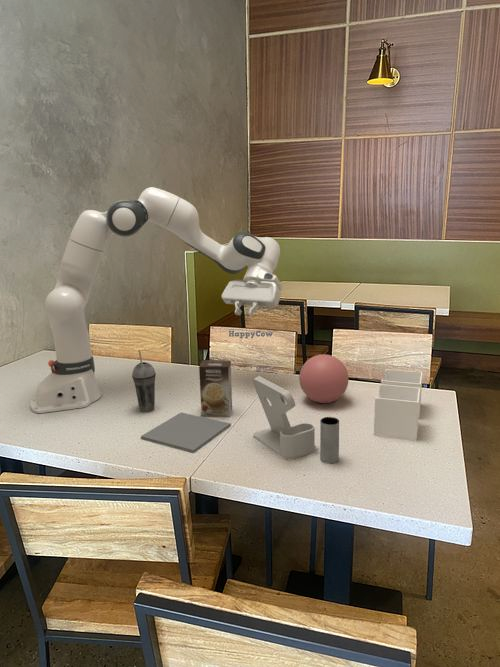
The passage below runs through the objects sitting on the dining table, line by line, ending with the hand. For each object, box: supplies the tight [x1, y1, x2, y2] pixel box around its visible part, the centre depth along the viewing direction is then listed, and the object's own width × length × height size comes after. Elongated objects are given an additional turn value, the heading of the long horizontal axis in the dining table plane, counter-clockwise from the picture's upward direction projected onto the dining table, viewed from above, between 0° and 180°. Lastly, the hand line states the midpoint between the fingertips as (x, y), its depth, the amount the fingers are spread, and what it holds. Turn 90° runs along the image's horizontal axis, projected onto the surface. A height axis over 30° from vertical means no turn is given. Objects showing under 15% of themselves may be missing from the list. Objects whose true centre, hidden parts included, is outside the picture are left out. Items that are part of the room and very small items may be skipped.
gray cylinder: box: [319, 416, 340, 464], centre depth 120 cm, size 4×4×10 cm
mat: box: [140, 412, 232, 454], centre depth 139 cm, size 18×18×1 cm
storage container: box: [373, 368, 423, 441], centre depth 142 cm, size 25×11×11 cm, turn 159°
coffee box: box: [198, 359, 233, 418], centre depth 150 cm, size 9×6×16 cm
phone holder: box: [252, 375, 317, 461], centre depth 129 cm, size 17×10×18 cm, turn 31°
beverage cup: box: [131, 349, 157, 413], centre depth 153 cm, size 7×7×20 cm
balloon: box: [298, 353, 349, 404], centre depth 158 cm, size 15×20×15 cm
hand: (242, 314), depth 159 cm, fingers open, 3 cm apart
